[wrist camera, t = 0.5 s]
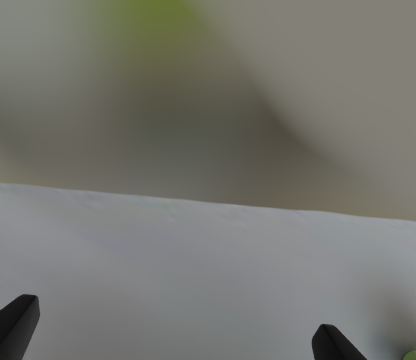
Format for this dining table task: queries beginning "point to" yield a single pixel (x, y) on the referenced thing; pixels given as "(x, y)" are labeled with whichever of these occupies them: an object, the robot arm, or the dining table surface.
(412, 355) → the broccoli
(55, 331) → the dining table surface
